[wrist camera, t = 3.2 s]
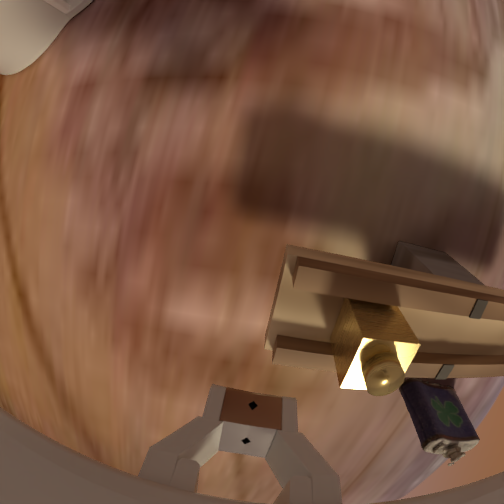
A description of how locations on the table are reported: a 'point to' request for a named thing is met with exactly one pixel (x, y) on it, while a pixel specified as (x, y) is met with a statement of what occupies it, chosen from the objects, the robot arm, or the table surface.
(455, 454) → the flask
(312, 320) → the beam
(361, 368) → the rider
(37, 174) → the table surface
